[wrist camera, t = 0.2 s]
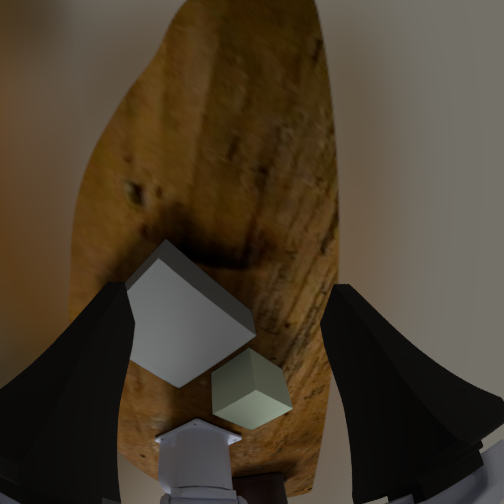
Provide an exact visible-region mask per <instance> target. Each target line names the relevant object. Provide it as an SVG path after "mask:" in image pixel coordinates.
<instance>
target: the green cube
mask: <svg viewBox="0 0 504 504" xmlns="http://www.w3.org/2000/svg"><path fill="white" fill-rule="evenodd" d="M211 382H212V410H213V414H214V415H216V416H218V417H220V418H223V419H225V420H227V421H230V422H232V423H235V424H237V425H240V426H242V427H245V428H247V429H250V430H253V429H255V428H257V427H259V426H261V425H263V424H265V423H267V422H269V421H271V420H273V419H274V418H276V417H278V416H280V415H282V414H284V413H286V412H287V411H289V410H291V409H293V407H292V403H291V400H290V396H289V392H288V389H287V385H286V381H285V377H284V374H283V370H282V369H281V368H279V367H278V366H276V365H274V364H273V363H271V362H270V361H268V360H267V359H265V358H264V357H262V356H261V355H259V354H258V353H256V352H255V351H254V350H252V349H251V348H247V349H246V350H245V351H243V352H242V353H240V354H239V355H237V356H236V357H234V358H233V359H231V360H230V361H229V362H227V363H226V364H224V365H223V366H221V367H220V368H218V369H217V370H215V371H214V372H212V373H211Z"/></svg>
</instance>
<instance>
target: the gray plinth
mask: <svg viewBox="0 0 504 504" xmlns="http://www.w3.org/2000/svg"><path fill="white" fill-rule="evenodd" d="M125 286H126V290H127V294H128V298H129V301H130V305H131V309H132V312H133V316H134V319H135V323H136V324H135V331H134V339H133V347H132V352H131V356H130V359H131V360H132V361H134V362H135V363H137V364H138V365H140V366H142V367H143V368H145V369H146V370H148V371H150V372H151V373H153V374H155V375H156V376H158V377H160V378H162V379H163V380H165V381H167V382H169V383H170V384H172V385H174V386H176V387H178V388H180V387H182V386H183V385H185V384H187V383H188V382H190V381H191V380H193V379H194V378H196V377H197V376H199V375H200V374H202V373H203V372H205V371H206V370H208V369H209V368H211V367H212V366H214V365H215V364H217V363H218V362H220V361H221V360H223V359H224V358H225V357H227V356H228V355H230V354H231V353H233V352H234V351H236V350H237V349H238V348H240V347H241V346H243V345H244V344H245V343H247V342H248V341H250V340H251V339H252V338H254V337H255V336H256V331H255V326H254V321H253V316H252V311H251V310H250V309H248V308H247V307H246V306H245V305H243V304H242V303H241V302H240V301H239V300H237V299H236V298H235V297H234V296H232V295H231V294H230V293H229V292H228V291H226V290H225V289H224V288H223V287H222V286H220V285H219V284H218V283H217V282H216V281H214V280H213V279H212V278H211V277H210V276H208V275H207V274H206V273H205V272H204V271H203V270H201V269H200V268H199V267H198V266H197V265H196V264H194V263H193V262H192V261H191V260H190V259H189V258H187V257H186V256H185V255H184V254H183V253H182V252H181V251H179V250H178V249H177V248H176V247H175V246H174V245H173V244H171V243H170V242H169V241H168V240H167V239H165V240H164V241H163V242H162V243H161V244H160V245H159V247H158V248H157V249H156V250H155V251H154V252H153V253H152V254H151V255H150V256H149V257H148V258H147V259H146V260H145V261H144V262H143V263H142V265H141V266H140V267H139V268H138V269H137V270H136V271H135V272H134V273H133V274H132V275H131V277H130V278H129V279H128V280H127V281H126V282H125Z"/></svg>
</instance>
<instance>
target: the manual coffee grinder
mask: <svg viewBox="0 0 504 504" xmlns="http://www.w3.org/2000/svg"><path fill="white" fill-rule="evenodd" d="M286 482H287V480H286V478H284V477H283V474H282V473H281V472H274V473H265V474H258V475H250V476H241V477H234V478H232V486H233V490H235V491H236V496H242V497H243V498H244V499H245V500H246V501H247V503H248V504H288V501H287V496H286V491H285V486H284V483H286Z"/></svg>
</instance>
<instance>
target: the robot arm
mask: <svg viewBox="0 0 504 504" xmlns="http://www.w3.org/2000/svg"><path fill="white" fill-rule="evenodd" d="M135 324H136V323H135V319H134V316H133V312H132V309H131V305H130V301H129V298H128V294H127V290H126V286H125V282H108V283H107V284H106V285H105V286H104V287H103V288H102V289H101V290H100V291H99V293H98V294H97V295H96V296H95V297H94V298H93V299H92V301H91V302H90V303H89V304H88V305H87V306H86V307H85V309H84V310H83V311H82V312H81V313H80V314H79V315H78V316H77V318H76V319H75V320H74V321H73V322H72V323H71V324H70V326H69V327H68V328H67V329H66V330H65V331H64V332H63V333H62V334H61V335H60V336H59V337H58V338H57V339H56V341H55V342H54V343H53V344H52V345H51V346H50V347H49V348H48V349H47V350H46V351H45V352H44V353H43V354H42V355H41V356H40V357H38V358H37V359H36V361H34V362H33V363H32V364H31V365H30V366H29V367H28V368H26V369H25V370H24V371H23V372H21V373H20V374H19V375H18V376H16V377H15V378H14V379H13V380H12V381H10V382H9V383H8V384H7V385H5V386H4V387H2V388H1V389H0V504H121V499H120V492H119V482H118V470H117V469H118V468H117V430H118V414H119V406H120V400H121V395H122V391H123V386H124V381H125V377H126V373H127V369H128V364H129V360H130V356H131V352H132V347H133V339H134V331H135ZM320 326H321V332H322V337H323V342H324V347H325V350H326V353H327V356H328V359H329V362H330V366H331V369H332V372H333V375H334V377H335V380H336V384H337V386H338V390H339V392H340V396H341V399H342V403H343V407H344V412H345V417H346V423H347V428H348V436H349V443H350V452H351V463H352V498H353V503H354V504H363V503H367V502H370V501H374V500H377V499H380V498H383V497H385V496H387V497H388V501H389V502H388V503H385V504H499V503H501V502H502V501H503V500H504V440H503V439H502V440H500V441H498V442H497V443H496V444H494V445H493V446H491V447H490V448H489V449H487V450H486V451H484V452H482V453H481V454H480V452H479V449H481V448H482V447H483V444H482V442H481V439H483V438H485V437H486V436H487V435H489V434H490V433H492V432H493V431H494V430H495V429H497V428H498V427H500V426H501V425H502V424H504V401H503V399H502V398H501V397H498V396H496V395H494V394H491V393H489V392H487V391H484V390H482V389H480V388H477V387H476V386H474V385H472V384H470V383H468V382H466V381H464V380H463V379H461V378H459V377H458V376H456V375H454V374H453V373H451V372H449V371H448V370H447V369H445V368H444V367H442V366H441V365H439V364H438V363H436V362H435V361H433V360H432V359H431V358H430V357H428V356H427V355H426V354H424V353H423V352H422V351H420V350H419V349H418V348H417V347H416V346H414V345H413V344H412V343H411V342H410V341H409V340H407V339H406V338H405V337H404V336H403V335H402V334H401V333H400V332H398V331H397V330H396V329H395V328H394V327H393V326H392V325H391V324H390V323H389V322H388V321H387V320H386V319H385V318H383V316H382V315H381V314H380V313H378V312H377V311H376V310H375V309H374V308H373V307H372V306H371V305H370V304H369V303H368V302H367V301H366V300H365V299H364V298H363V297H362V296H361V295H360V294H359V293H358V292H357V291H356V290H355V289H354V288H353V287H352V286H351V285H349V284H334V285H333V288H332V291H331V294H330V297H329V300H328V302H327V305H326V308H325V311H324V314H323V317H322V319H321V322H320ZM241 439H242V437H241V436H240V435H237V434H235V433H232V432H229V431H227V430H224V429H222V428H219V427H217V426H214V425H212V424H210V423H207V422H205V421H203V420H200V419H194V420H192V421H190V422H188V423H186V424H184V425H182V426H180V427H178V428H176V429H174V430H171V431H169V432H167V433H165V434H163V435H161V436H158V437H156V438H155V441H156V442H158V443H160V450H159V466H158V479H159V483H160V485H161V487H162V488H163V490H164V491H165V492H166V493H165V494H164V495H163V496H162V497H161V499H160V504H248V503H247V501H246V500H245V499H244V498H243V497H242V496H236V491H235V490H233V486H232V477H231V467H230V457H229V446H228V445H230V444H232V443H234V442H237V441H239V440H241Z"/></svg>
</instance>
